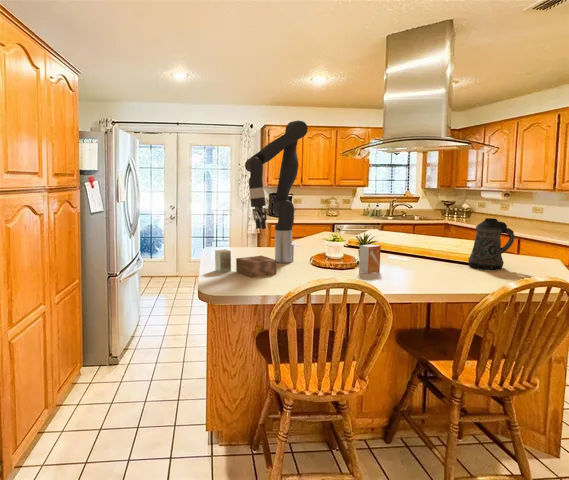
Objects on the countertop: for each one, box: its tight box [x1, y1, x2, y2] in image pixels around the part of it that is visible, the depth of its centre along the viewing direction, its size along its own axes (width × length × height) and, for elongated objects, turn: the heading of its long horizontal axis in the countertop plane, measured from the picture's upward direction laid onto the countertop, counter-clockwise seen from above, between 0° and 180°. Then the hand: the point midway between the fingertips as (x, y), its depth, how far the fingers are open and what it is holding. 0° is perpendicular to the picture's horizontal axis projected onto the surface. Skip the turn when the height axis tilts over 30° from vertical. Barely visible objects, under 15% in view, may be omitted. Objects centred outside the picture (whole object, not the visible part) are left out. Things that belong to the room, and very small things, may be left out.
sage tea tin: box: [214, 249, 232, 273], centre depth 220 cm, size 6×6×10 cm
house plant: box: [354, 232, 378, 259], centre depth 242 cm, size 14×14×16 cm
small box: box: [358, 243, 381, 275], centre depth 218 cm, size 8×6×13 cm
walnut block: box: [235, 255, 277, 278], centre depth 215 cm, size 14×14×7 cm
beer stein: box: [467, 217, 516, 271], centre depth 229 cm, size 16×19×25 cm
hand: (261, 228), depth 232 cm, fingers open, 8 cm apart
